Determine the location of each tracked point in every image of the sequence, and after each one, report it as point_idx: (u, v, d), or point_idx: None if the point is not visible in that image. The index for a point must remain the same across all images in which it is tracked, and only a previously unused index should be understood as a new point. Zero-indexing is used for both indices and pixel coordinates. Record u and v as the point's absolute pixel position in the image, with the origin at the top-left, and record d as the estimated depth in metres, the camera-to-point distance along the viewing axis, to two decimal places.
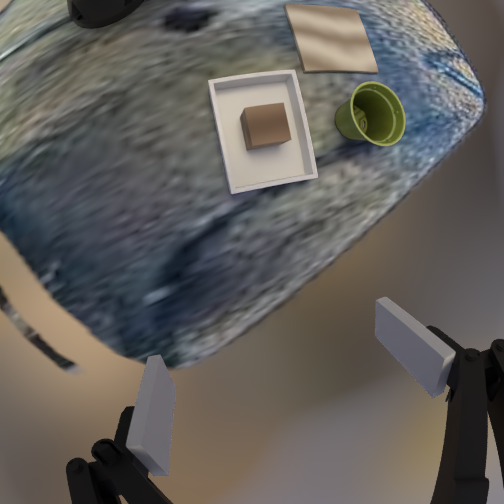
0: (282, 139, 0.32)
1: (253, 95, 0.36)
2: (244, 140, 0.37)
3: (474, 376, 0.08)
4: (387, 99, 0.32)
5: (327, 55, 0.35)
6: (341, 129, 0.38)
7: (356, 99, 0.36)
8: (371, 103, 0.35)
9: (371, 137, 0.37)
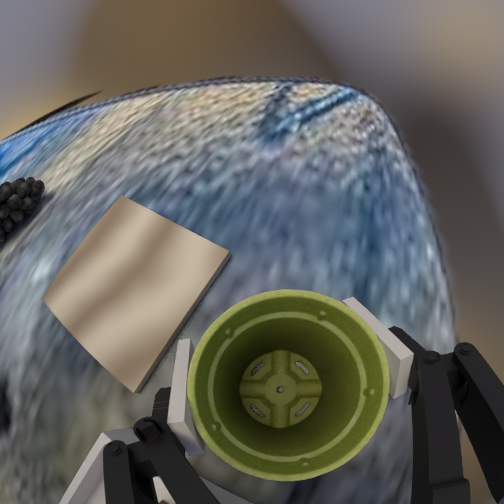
0: None
1: None
2: None
3: (436, 379, 0.08)
4: (278, 312, 0.15)
5: (137, 327, 0.20)
6: (277, 431, 0.16)
7: (241, 361, 0.17)
8: (268, 338, 0.17)
9: (335, 391, 0.16)
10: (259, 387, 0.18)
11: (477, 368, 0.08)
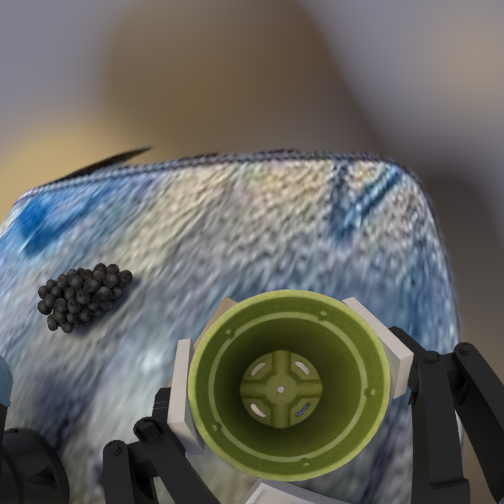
0: None
1: None
2: None
3: (436, 379, 0.08)
4: (278, 312, 0.15)
5: None
6: (278, 432, 0.16)
7: (241, 361, 0.17)
8: (268, 338, 0.17)
9: (335, 391, 0.16)
10: (260, 387, 0.18)
11: (477, 368, 0.08)
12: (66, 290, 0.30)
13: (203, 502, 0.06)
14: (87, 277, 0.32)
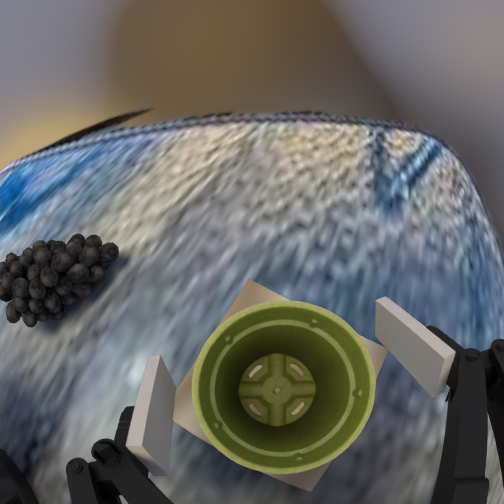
0: None
1: None
2: None
3: (474, 376, 0.08)
4: (273, 320, 0.16)
5: None
6: (274, 429, 0.17)
7: (239, 364, 0.18)
8: (264, 342, 0.18)
9: (327, 392, 0.17)
10: (257, 388, 0.20)
11: None
12: (29, 268, 0.20)
13: None
14: (58, 251, 0.22)
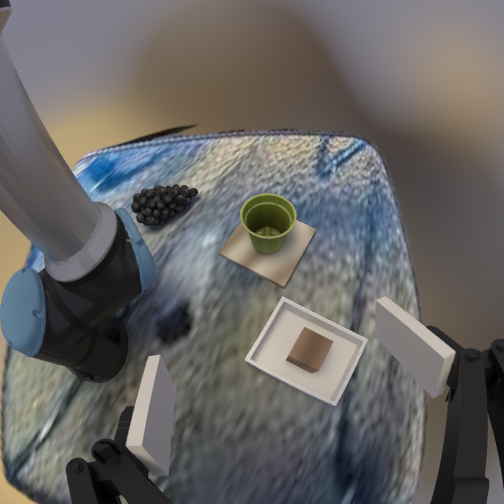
0: (329, 347, 0.38)
1: (276, 338, 0.45)
2: (304, 369, 0.42)
3: (474, 376, 0.08)
4: (264, 202, 0.50)
5: (282, 259, 0.52)
6: (266, 252, 0.52)
7: (253, 225, 0.53)
8: (262, 216, 0.53)
9: None
10: None
11: None
12: (155, 195, 0.54)
13: None
14: (169, 189, 0.56)
